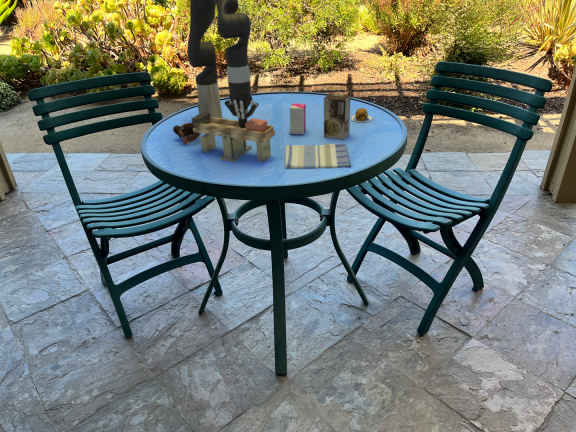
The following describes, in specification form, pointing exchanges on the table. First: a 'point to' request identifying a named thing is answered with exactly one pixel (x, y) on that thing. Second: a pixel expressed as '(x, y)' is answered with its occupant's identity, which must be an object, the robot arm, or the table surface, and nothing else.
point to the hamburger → (361, 115)
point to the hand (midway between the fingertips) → (243, 127)
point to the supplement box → (297, 119)
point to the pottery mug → (186, 133)
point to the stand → (234, 147)
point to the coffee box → (336, 116)
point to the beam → (228, 128)
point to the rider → (256, 125)
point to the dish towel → (317, 156)
